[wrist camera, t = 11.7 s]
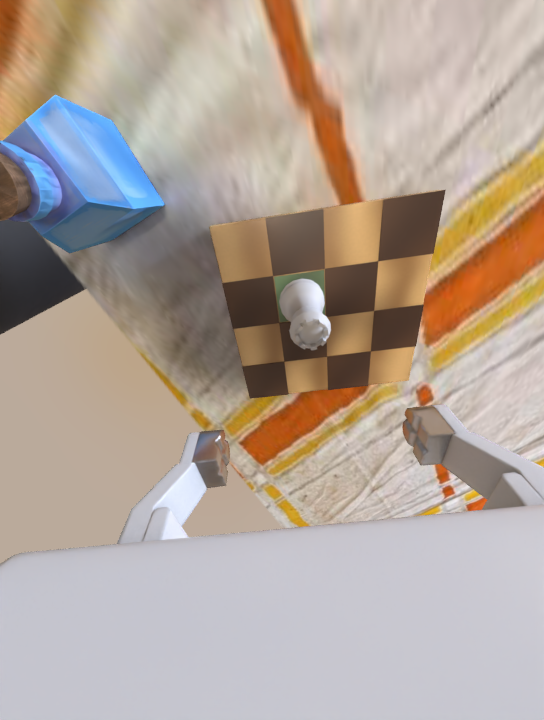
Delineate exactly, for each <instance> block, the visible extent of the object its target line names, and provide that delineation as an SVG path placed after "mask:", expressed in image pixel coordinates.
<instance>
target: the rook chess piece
mask: <svg viewBox="0 0 544 720" xmlns="http://www.w3.org/2000/svg"><path fill="white" fill-rule="evenodd" d="M279 303H280V308H281V311H282V314H283V315H284V316H285V318H286V319H287V320H288V321H290V322H291V326H290V330H289V331H290V336H291V339H292V340H293V342H294V343H295V344H297V345H298V346H300V347H301V348H303V349H305V348H310V349H311V350H316V349H317V347H318V346H319V345H322V346H323V345H324V344H325V343H326V342H327V341H326V340H327V339H328V337H329V335H330V332H331V324H330V321H329V320H328V318H327V317H326V316H325V315H323V313H322V312H323V308H324V305H325V301H324V295H323V291H322V290H321V288H320V286H319V285H318V284H317V283H315V282H314V281H312V280H309V279H303V278H302V279H298V280H293V281H292V282H290V283H289V284H288V285H286V286H285V288H284V289H283V291H282V292H281V295H280V300H279Z"/></svg>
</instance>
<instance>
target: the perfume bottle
mask: <svg viewBox="0 0 544 720" xmlns="http://www.w3.org/2000/svg"><path fill="white" fill-rule="evenodd" d="M164 205H165V204H164V202H163V201H162V199H161V198H160V196H159V194H158V193H157V191H156V190H155V188H154V187H153V185H152V183H151V182H150V180H149V179H148V177H147V175H146V174H145V172H144V171H143V169H142V168H141V166H140V164H139V163H138V161H137V160H136V158H135V156H134V155H133V153H132V152H131V150H130V149H129V147H128V145H127V144H126V142H125V141H124V139H123V137H122V136H121V134H120V133H119V131H118V130H117V128H116V126H115V125H114V123H113V122H112V120H110V119H107V118H105V117H103V116H101V115H99V114H96V113H94V112H92V111H90V110H87V109H85V108H83V107H81V106H79V105H76V104H74V103H72V102H70V101H68V100H65V99H63V98H61V97H59V96H56V95H55V96H53V97H52V98H51V99H50V100H49V101H48V102H46V103H45V104H44V105H43V106H42V107H40V108H39V109H38V110H37V111H36V112H35V113H33V114H32V115H31V116H30V117H29V118H27V119H26V120H25V121H24V122H23V123H22V124H21V125H20V126H19V127H17V128H16V129H15V130H14V131H13V132H12V133H11V134H10V135H9V136H8V137H7V138H5V139H4V140H3V141H0V220H6V219H9V220H12V221H29V222H30V224H31V225H32V226H33V227H34V228H35V229H36V230H37V231H38V232H39V234H40V235H41V236H43V237H44V238H46V239H47V240H49V241H51V242H52V243H54V244H56V245H57V246H59V247H60V248H62V249H64V250H65V251H67V252H68V253H72V252H76V251H79V250H82V249H85V248H89V247H92V246H95V245H98V244H102V243H105V242H108V241H111V240H113V239H115V238H116V237H118V236H119V235H121V234H122V233H124V232H125V231H127V230H128V229H130V228H131V227H133V226H134V225H136V224H137V223H139V222H140V221H142V220H143V219H145V218H146V217H148V216H149V215H151V214H152V213H154V212H155V211H157V210H158V209H160V208H161V207H163V206H164Z"/></svg>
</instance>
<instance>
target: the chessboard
mask: <svg viewBox="0 0 544 720" xmlns="http://www.w3.org/2000/svg"><path fill="white" fill-rule="evenodd" d="M444 195H445V190H435V191H428V192H422V193H416V194H409V195H403V196H396V197H390V198H384V199H377V200H371V201H364V202H358V203H352V204H345V205H339V206H332V207H326V208H320V209H313V210H307V211H300V212H294V213H288V214H281V215H275V216H268V217H262V218H256V219H249V220H243V221H236V222H230V223H224V224H217V225H212V226H210V227H209V228H210V232H211V237H212V241H213V245H214V249H215V253H216V257H217V262H218V266H219V270H220V274H221V278H222V282H223V283H222V284H223V288H224V292H225V297H226V301H227V305H228V309H229V313H230V317H231V321H232V326H233V329H234V332H235V337H236V341H237V345H238V349H239V353H240V357H241V362H242V367H243V371H244V375H245V380H246V384H247V388H248V392H249V396H250V398H259V397H268V396H277V395H287V394H289V393H298V392H307V391H316V390H325V389H328V390H332V389H341V388H351V387H360V386H368V385H371V384H380V383H389V382H398V381H408V380H409V376H410V370H411V365H412V360H413V354H414V349H415V346H416V343H417V337H418V332H419V327H420V321H421V316H422V311H423V306H424V305H423V301H424V296H425V290H426V285H427V280H428V274H429V269H430V264H431V258H432V254H433V253H434V248H435V242H436V237H437V232H438V226H439V221H440V216H441V211H442V205H443V200H444ZM302 278H303V279H309V280H312V281H314V282H315V283H317V284H318V285H319V286H320V288H321V290H322V291H323V295H324V301H325V305H324V308H323V312H322V313H323V315H325V316H326V317H327V318H328V320H329V321H330V324H331V332H330V335H329V337H328V339H327V340H326V341H327V342H326V343H325V344H324V345H323V346H322V345H319V346H318V347H317V349H316V350H311V349H310V348H305V349H303V348H301V347H300V346H298V345H297V344H295V343H294V342H293V340H292V339H291V336H290V331H289V330H290V326H291V322H290V321H288V320H287V319H286V318H285V316H284V315H283V314H282V311H281V308H280V303H279V300H280V295H281V292H282V291H283V289H284V288H285V286H286V285H288V284H289V283H290V282H292V281H293V280H298V279H302Z"/></svg>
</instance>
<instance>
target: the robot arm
mask: <svg viewBox="0 0 544 720" xmlns="http://www.w3.org/2000/svg"><path fill="white" fill-rule="evenodd" d="M405 416H406V417H407V419H406V420H405V421H404V422H403V434H404V436H405V439H406V441H407V443H408V444H410V445H411V446H413V447H414V449H413V453H414V455H415V457H416V458H417V460H418V462H419V463H420V465H434V464H442V466H444V467H445V468H446V469H448V470H449V471H450V472H452V473H453V474H454V475H456V476H457V477H458V478H460V479H461V480H462V481H463V482H465V483H466V484H467V485H469V486H470V487H471V488H473V489H474V490H475V491H477V492H478V493H479V494H481V495H482V496H483V497H484V498H486V499H487V502H486V503H485V505H484V507H483V509H482V510H477V511H466V512H456V513H445V514H434V515H423V516H413V517H402V518H391V519H380V520H370V521H359V522H348V523H337V524H327V525H316V526H306V527H295V528H284V529H274V530H263V531H252V532H241V533H232V534H220V535H209V536H199V537H188V536H187V534H186V533H185V531H184V530H183V528H182V525H183V524H184V523H185V521H186V520H187V518H188V517H189V515H190V514H191V512H192V511H193V509H194V508H195V506H196V505H197V504H198V502H199V500H200V499H201V498H202V496H203V495H204V493H205V492H206V490H207V488H211V487H218V486H225V485H226V483H227V475H228V471H227V467H226V466H227V465H228V463H229V460H230V449H229V444H228V442H227V441H226V440H225V433H224V430H214V431H203V432H194V433H190V434H189V435H188V437H187V440H186V443H185V446H184V450H183V453H182V456H181V460H180V462H179V464H176V465H175V466H174V467H173V468H172V469H171V470H170V471H169V472H168V473H167V474H166V475H165V476H164V477H163V478H162V479H161V480H160V481H159V482H158V483H157V484H156V485H155V486H154V487H153V488H152V489H151V490H150V491H149V492H148V493H147V494H146V495H145V496H144V497H143V498H142V499H141V500H140V501H139V502H138V503H137V504H136V505H135V506H134V507H133V508H132V510H131V512H130V514H129V516H128V519H127V521H126V524H125V526H124V528H123V531H122V533H121V535H120V538H119V540H118V543H117V544H113V545H101V546H91V547H79V548H69V549H58V550H47V551H35V552H25V553H19V554H16V555H13V556H12V557H10V558H8V559H7V560H5V561H4V562H2V563H1V564H0V720H544V467H542V466H540V465H538V464H536V463H534V462H532V461H530V460H528V459H526V458H524V457H522V456H520V455H518V454H516V453H514V452H512V451H510V450H508V449H506V448H504V447H502V446H500V445H498V444H496V443H494V442H492V441H490V440H488V439H486V438H484V437H482V436H480V435H478V434H476V433H474V432H471V433H470V432H469V431H468V430H467V429H466V427H465V426H464V425H463V424H462V423H461V422H460V421H459V419H458V418H457V417H456V416H455V415H454V414H453V412H452V411H451V410H450V409H449V408H448V407H447V406H446V405H445V404H438V405H431V406H422V407H414V408H407V410H406V412H405Z"/></svg>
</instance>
